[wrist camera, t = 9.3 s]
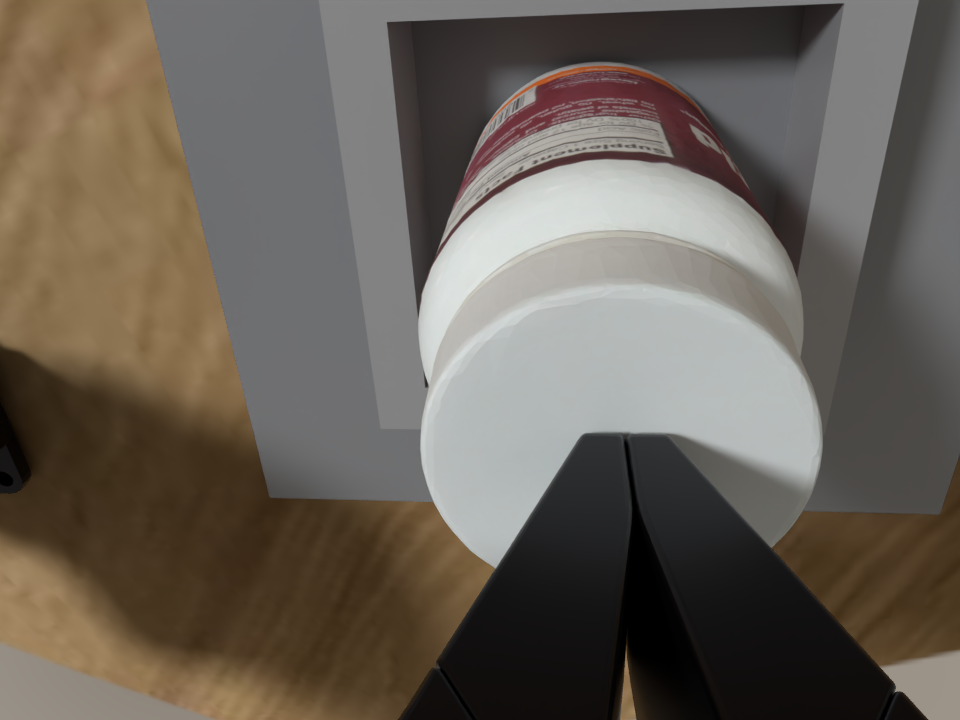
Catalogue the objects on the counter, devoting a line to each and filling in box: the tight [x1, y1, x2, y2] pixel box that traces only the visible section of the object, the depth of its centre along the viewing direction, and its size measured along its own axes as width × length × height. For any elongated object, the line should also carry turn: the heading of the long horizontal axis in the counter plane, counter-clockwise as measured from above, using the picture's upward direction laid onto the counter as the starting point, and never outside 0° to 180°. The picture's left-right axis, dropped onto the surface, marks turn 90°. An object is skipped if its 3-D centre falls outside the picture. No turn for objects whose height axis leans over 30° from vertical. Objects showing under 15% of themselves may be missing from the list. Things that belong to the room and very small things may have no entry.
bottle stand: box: [146, 0, 960, 514], centre depth 14 cm, size 16×16×3 cm
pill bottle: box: [418, 62, 823, 568], centre depth 11 cm, size 5×5×8 cm
